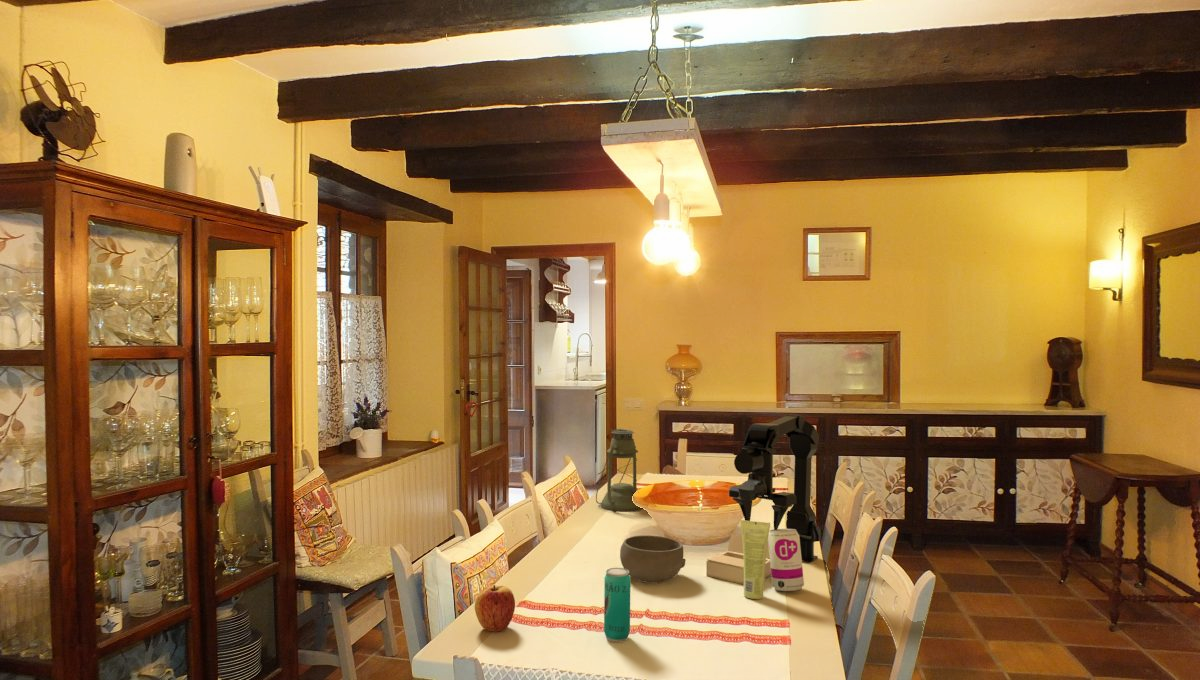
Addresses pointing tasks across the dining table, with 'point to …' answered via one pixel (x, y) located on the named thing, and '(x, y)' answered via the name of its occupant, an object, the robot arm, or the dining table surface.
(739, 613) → the dining table surface
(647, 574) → the bowl
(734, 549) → the flap
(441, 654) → the dining table surface
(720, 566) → the carton
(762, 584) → the tube
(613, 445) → the lantern
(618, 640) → the beverage can
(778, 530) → the supplement can
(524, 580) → the dining table surface
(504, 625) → the apple
